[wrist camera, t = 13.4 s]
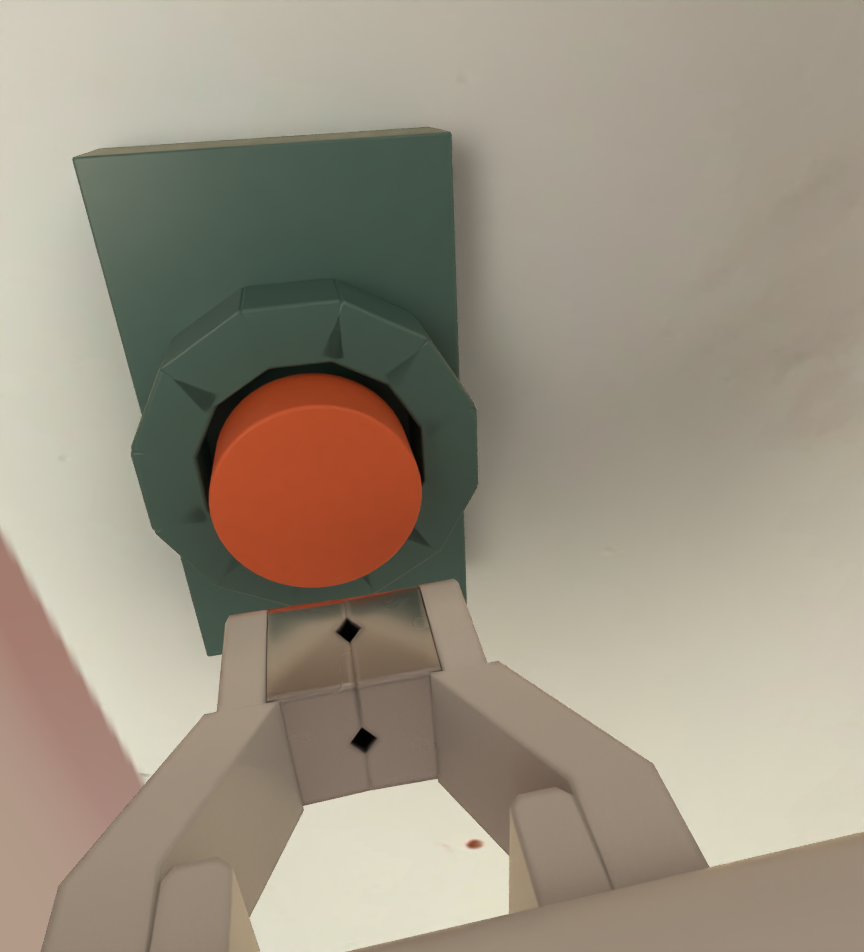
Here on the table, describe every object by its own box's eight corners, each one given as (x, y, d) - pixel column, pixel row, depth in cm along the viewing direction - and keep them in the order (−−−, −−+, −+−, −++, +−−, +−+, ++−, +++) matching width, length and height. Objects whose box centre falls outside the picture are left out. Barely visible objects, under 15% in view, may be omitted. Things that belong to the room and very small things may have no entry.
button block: (97, 148, 15) (42, 166, 11) (430, 126, 16) (474, 137, 12) (213, 605, 20) (201, 709, 17) (450, 567, 21) (483, 658, 18)
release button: (196, 384, 14) (186, 420, 12) (401, 360, 14) (416, 393, 13) (235, 554, 16) (230, 603, 14) (413, 527, 16) (428, 572, 15)
